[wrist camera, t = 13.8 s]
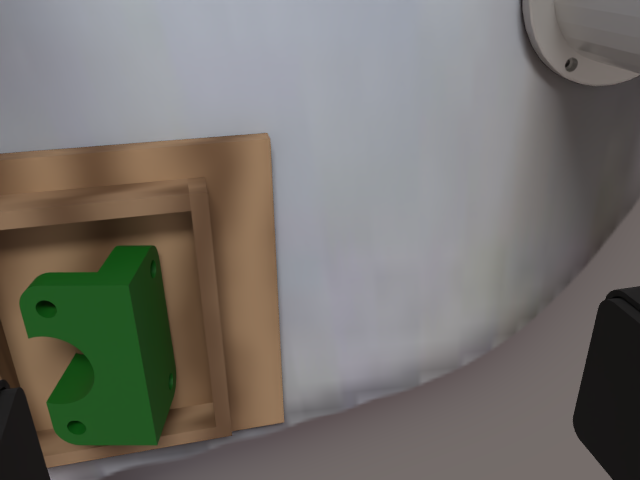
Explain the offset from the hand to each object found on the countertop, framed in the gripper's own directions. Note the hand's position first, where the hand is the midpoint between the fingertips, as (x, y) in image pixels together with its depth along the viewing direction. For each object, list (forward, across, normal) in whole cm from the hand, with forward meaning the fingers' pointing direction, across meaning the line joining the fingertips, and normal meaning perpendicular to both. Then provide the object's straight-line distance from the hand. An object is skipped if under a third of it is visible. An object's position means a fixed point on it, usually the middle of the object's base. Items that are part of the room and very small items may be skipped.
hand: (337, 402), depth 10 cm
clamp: (+27, +8, +15) cm, 32 cm away
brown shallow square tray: (+28, +8, +15) cm, 33 cm away
